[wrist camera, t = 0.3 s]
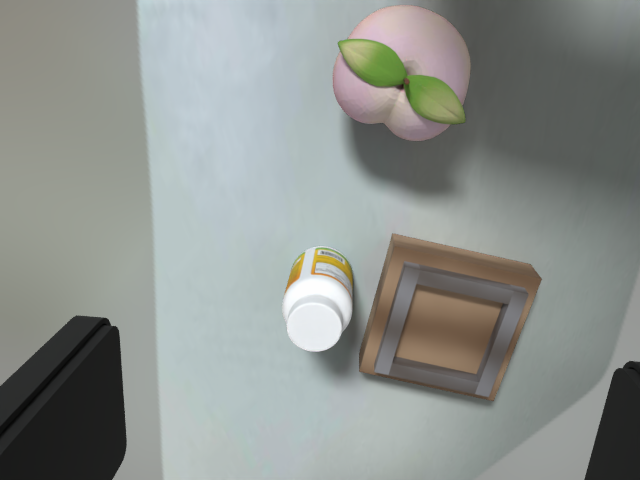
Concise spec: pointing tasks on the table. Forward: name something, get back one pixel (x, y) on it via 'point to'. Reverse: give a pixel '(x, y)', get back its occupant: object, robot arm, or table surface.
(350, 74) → the decorative fruit
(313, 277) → the supplement bottle
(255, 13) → the table surface
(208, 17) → the table surface
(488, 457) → the table surface
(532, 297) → the stand
